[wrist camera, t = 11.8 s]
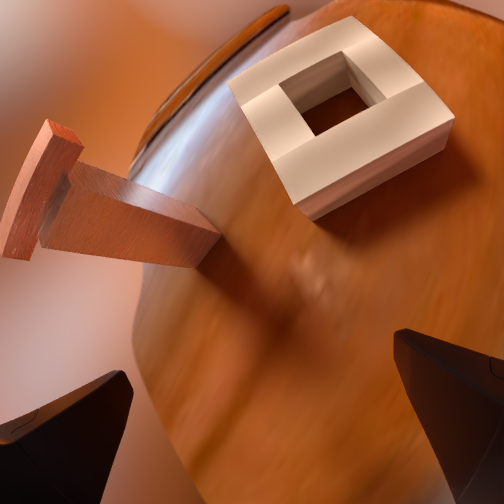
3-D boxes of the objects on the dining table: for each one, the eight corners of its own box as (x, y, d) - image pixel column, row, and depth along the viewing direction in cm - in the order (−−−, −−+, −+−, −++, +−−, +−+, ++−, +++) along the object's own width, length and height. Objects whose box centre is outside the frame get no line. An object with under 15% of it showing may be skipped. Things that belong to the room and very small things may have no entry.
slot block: (444, 149, 15) (455, 117, 11) (312, 221, 18) (293, 204, 14) (360, 51, 18) (351, 15, 14) (251, 111, 21) (226, 82, 17)
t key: (207, 192, 22) (44, 114, 9) (234, 218, 20) (56, 141, 8) (161, 254, 23) (-4, 224, 10) (184, 282, 22) (3, 268, 9)
